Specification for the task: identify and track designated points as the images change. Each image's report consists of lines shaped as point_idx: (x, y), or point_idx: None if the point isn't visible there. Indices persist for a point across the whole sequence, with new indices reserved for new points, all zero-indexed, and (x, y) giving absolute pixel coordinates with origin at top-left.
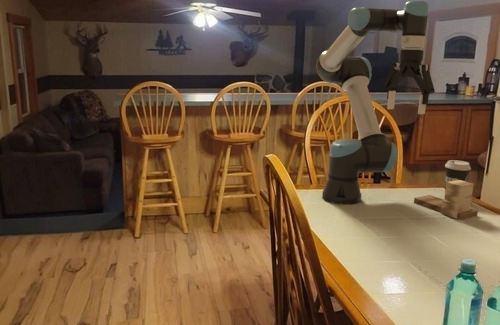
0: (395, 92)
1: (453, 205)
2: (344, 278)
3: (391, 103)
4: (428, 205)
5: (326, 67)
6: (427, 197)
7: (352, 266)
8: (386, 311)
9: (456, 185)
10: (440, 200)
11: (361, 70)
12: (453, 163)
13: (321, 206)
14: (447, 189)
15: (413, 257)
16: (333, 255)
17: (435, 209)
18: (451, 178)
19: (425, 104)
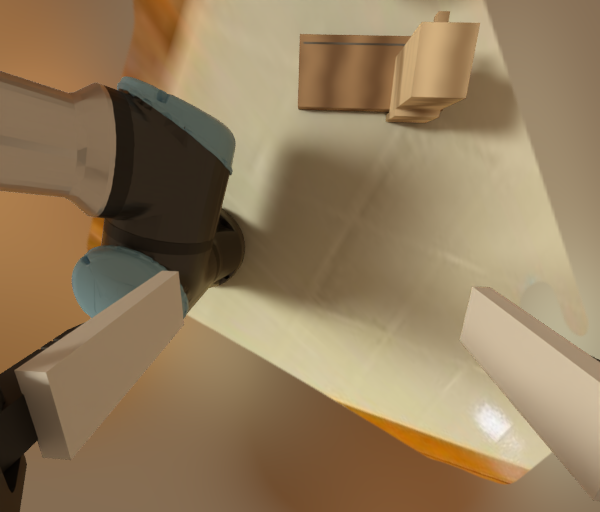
0: (65, 361)
1: (426, 117)
2: (444, 450)
3: (157, 327)
4: (343, 109)
5: None
6: (312, 65)
7: (430, 425)
8: (517, 463)
9: (447, 97)
10: (348, 54)
11: None
12: None
13: (227, 311)
14: (410, 101)
15: None
16: (394, 422)
17: (364, 110)
18: None
19: (547, 335)
